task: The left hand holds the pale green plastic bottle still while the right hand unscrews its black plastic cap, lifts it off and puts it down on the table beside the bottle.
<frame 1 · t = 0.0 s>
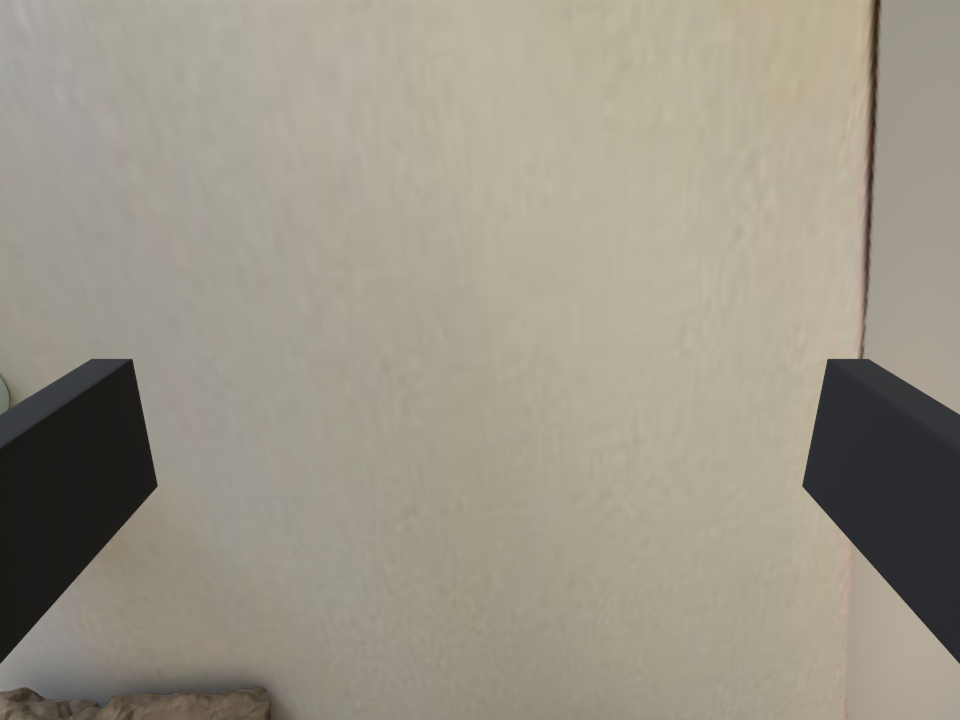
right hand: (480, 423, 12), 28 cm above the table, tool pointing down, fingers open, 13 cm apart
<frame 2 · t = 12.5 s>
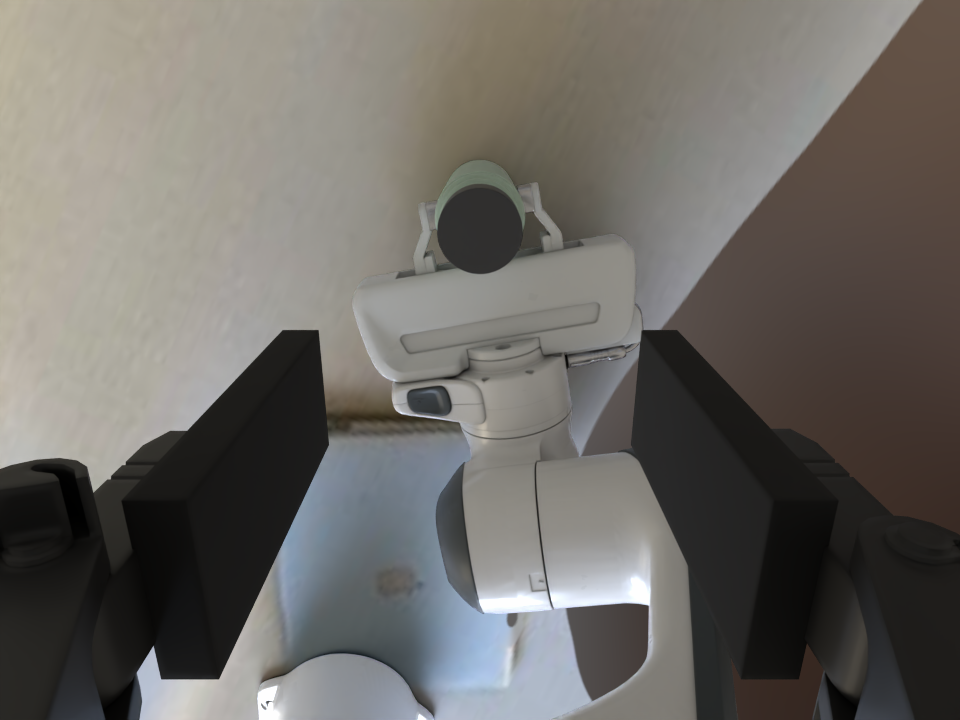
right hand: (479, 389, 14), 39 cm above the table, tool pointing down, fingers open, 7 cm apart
left hand: (477, 193, 44), fingers closed on bottle, 5 cm apart
cap: (479, 231, 34), point 17 cm above the table, screwed on, not yet turned
bottle: (480, 196, 51), on the table, touching left hand
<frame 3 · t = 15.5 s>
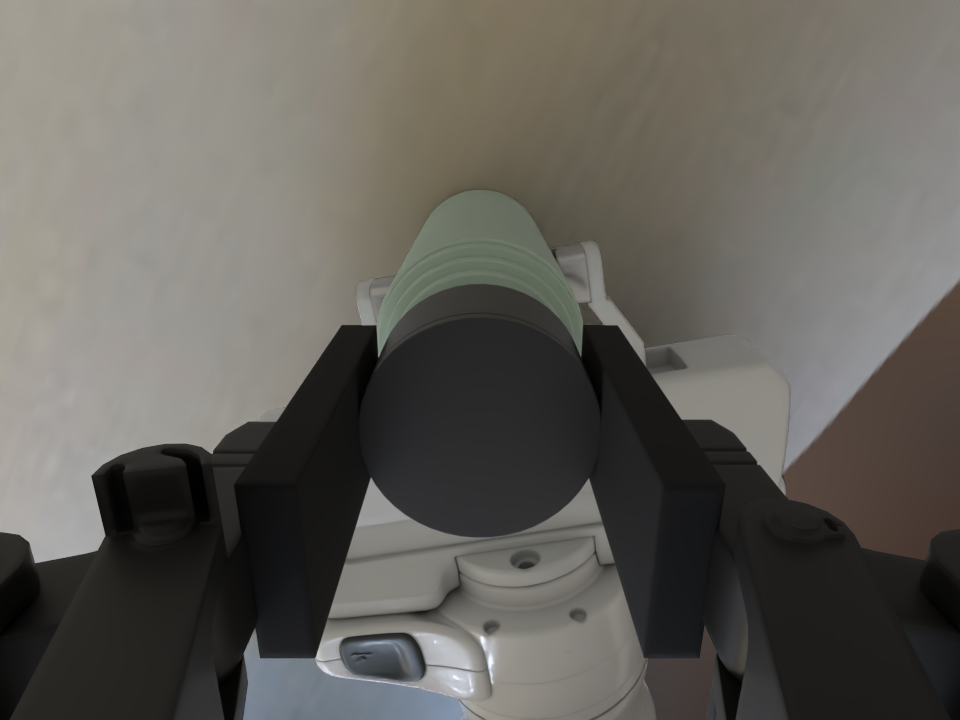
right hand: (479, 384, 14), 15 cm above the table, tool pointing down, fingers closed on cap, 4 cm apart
cap: (479, 428, 12), point 17 cm above the table, screwed on, not yet turned, touching right hand
bottle: (480, 253, 28), on the table, touching left hand
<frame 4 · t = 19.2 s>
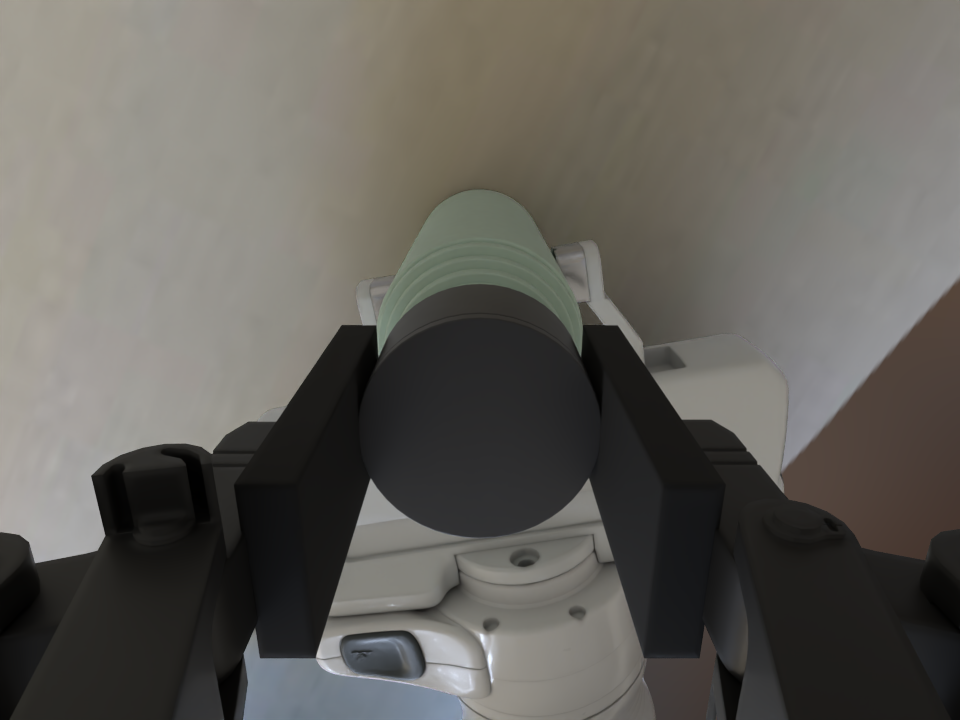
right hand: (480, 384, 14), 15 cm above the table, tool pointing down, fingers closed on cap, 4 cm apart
cap: (479, 428, 12), point 17 cm above the table, turned 122° so far, risen 0.1 cm, still on its thread, touching right hand
bottle: (479, 252, 29), on the table, touching left hand
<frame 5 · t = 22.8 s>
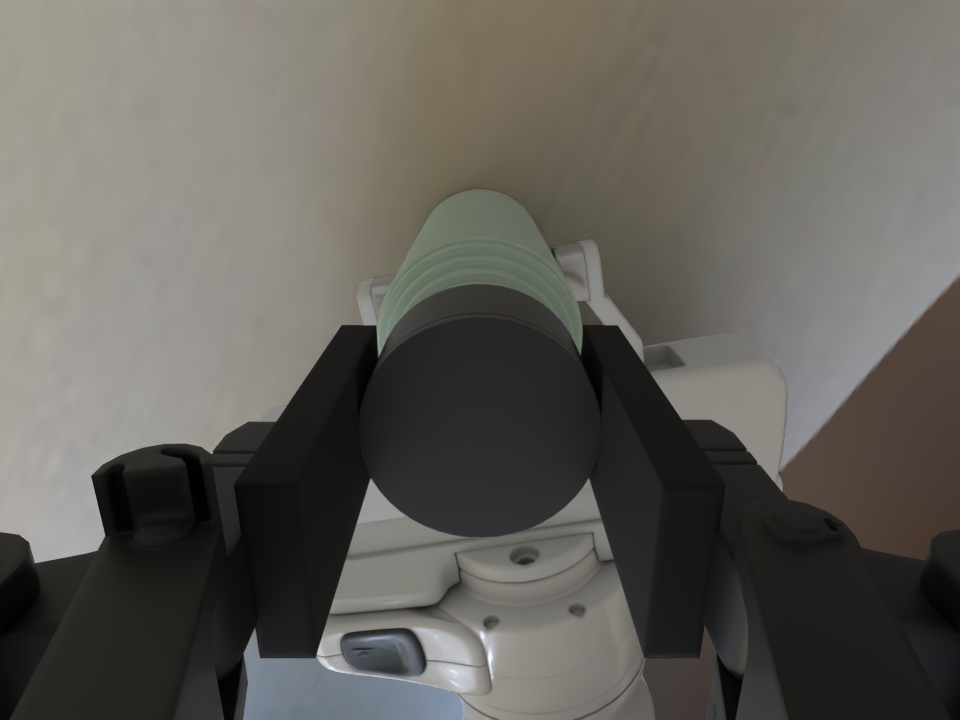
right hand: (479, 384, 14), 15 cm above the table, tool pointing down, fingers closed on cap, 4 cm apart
cap: (479, 428, 12), point 18 cm above the table, turned 244° so far, risen 0.2 cm, still on its thread, touching right hand
bottle: (479, 252, 29), on the table, touching left hand
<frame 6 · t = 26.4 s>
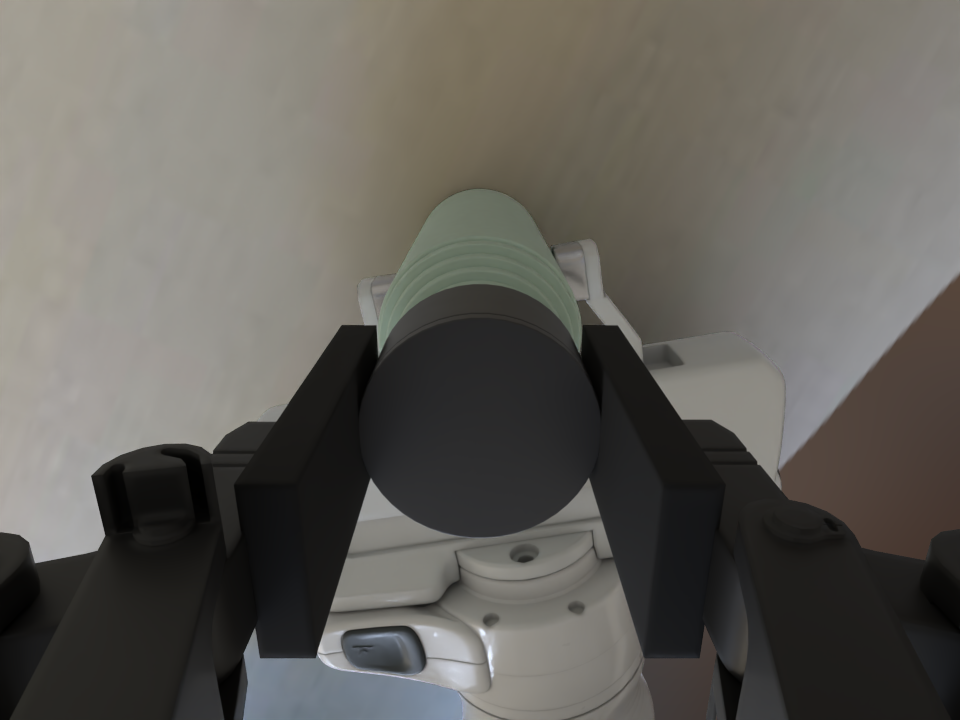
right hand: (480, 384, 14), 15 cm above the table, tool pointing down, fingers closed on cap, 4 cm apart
cap: (479, 428, 12), point 18 cm above the table, turned 366° so far, risen 0.4 cm, still on its thread, touching right hand
bottle: (479, 251, 29), on the table, touching left hand
when the right hand's fingers open (1 cm above the table, at t = 34.5 s): cap drops 1 cm, point 2 cm above the table.
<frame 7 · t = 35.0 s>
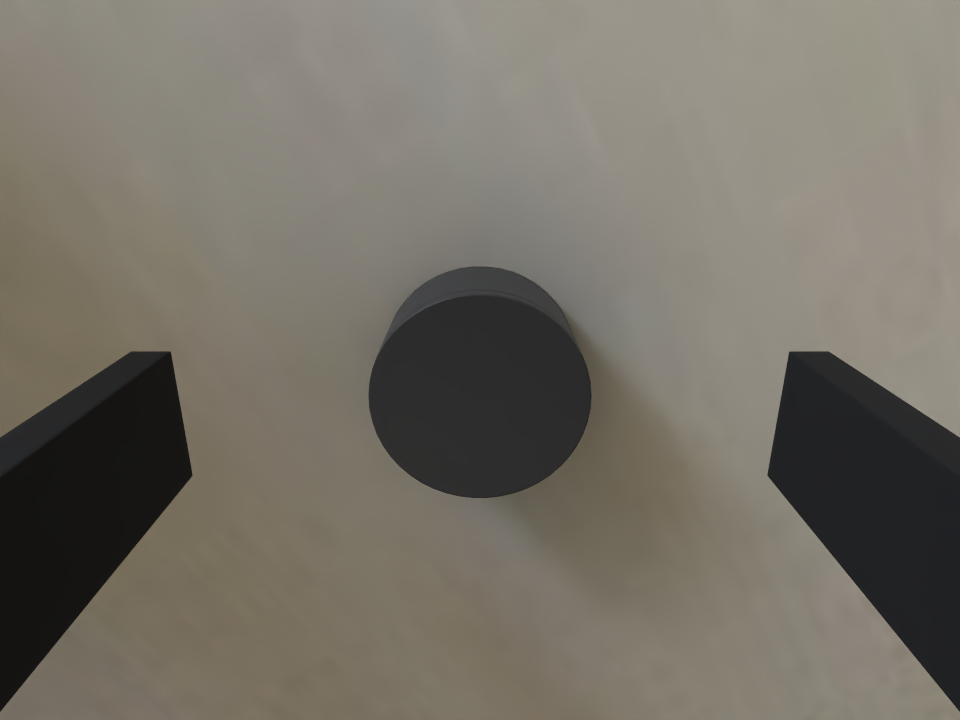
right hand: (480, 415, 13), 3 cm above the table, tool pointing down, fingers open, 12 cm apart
cap: (479, 396, 13), point 2 cm above the table, off its thread
when the left hand's fingers open (6 cm above the table, at t = 35.9 s): bottle stays where it is, on the table.
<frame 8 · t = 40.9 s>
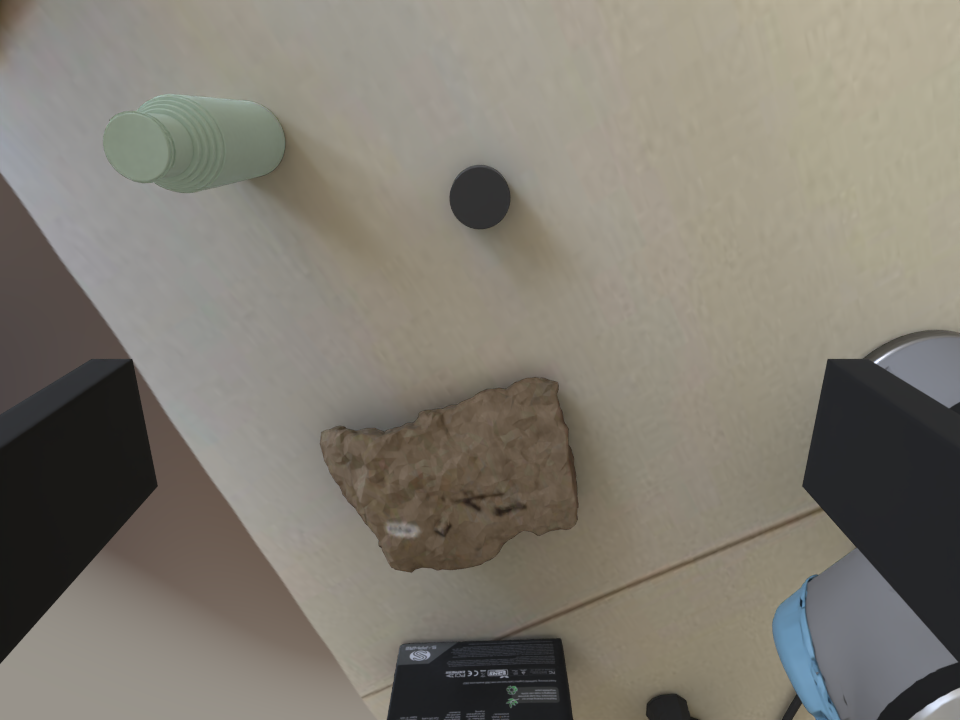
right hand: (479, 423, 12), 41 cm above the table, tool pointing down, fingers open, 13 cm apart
graphics card box: (479, 658, 67), on the table
cap: (479, 198, 48), point 2 cm above the table, off its thread
bottle: (249, 139, 49), on the table
stone: (460, 458, 59), on the table
robot: (675, 717, 70), on the table
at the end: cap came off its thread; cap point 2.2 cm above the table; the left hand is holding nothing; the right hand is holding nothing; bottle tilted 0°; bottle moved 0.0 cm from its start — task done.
